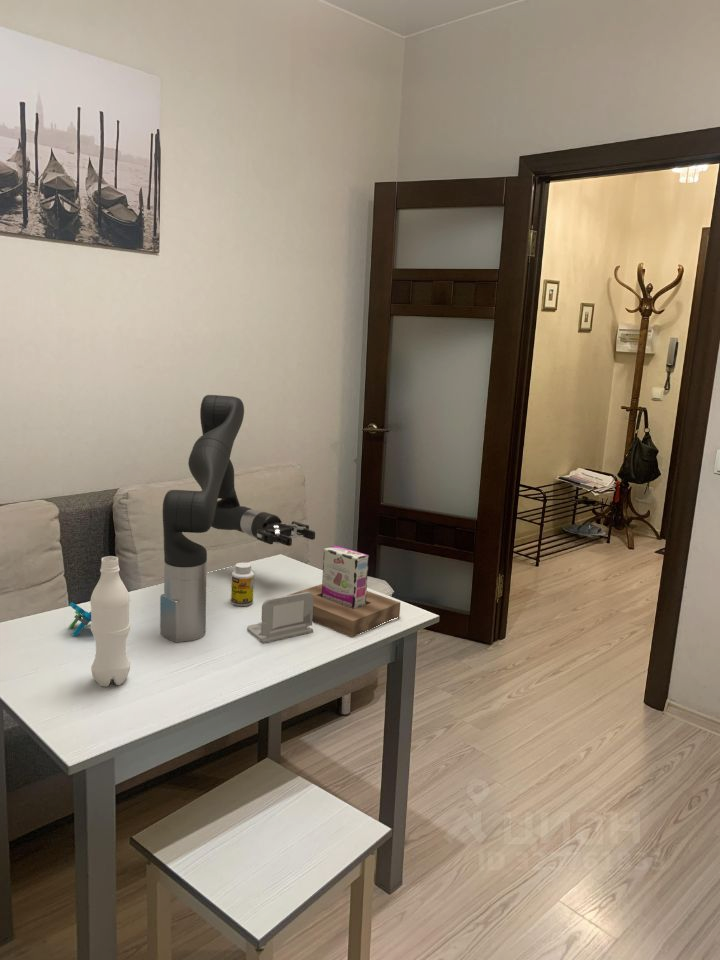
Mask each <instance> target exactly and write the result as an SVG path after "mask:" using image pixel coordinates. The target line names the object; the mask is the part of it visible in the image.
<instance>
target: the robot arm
mask: <svg viewBox="0 0 720 960" xmlns="http://www.w3.org/2000/svg"><path fill="white" fill-rule="evenodd" d="M200 403H201V404H200V410H199V411H200V412H199V413H200V414H199V416H200V417H199V418H200V424H201V425H200V426H201V431H202V433H201V434H202V435H201V436H199V438H198V439H197V440H195V442H194V444H193V446H192V449H191V452H190V454H189V456H188V463H187V465H188V468H189V471H190V474H191V475H192V477H193V479H194V480H195V481H196V483H197V484H198V485H199V487H200V489H201V490H184V489H171V490H168V491H167V492H166V493H165V495H164V498H163V501H162V527H163V529H162V530H163V553H164V554H163V555H164V560H163V561H164V562H163V563H164V568H163V569H164V570H163V571H164V572H163V574H164V577H163V579H164V581H163V582H164V583H163V587H164V588H163V589H164V590H163V591H164V592H163V593H162V594H160V598H159V599H160V601H159V602H160V603H159V604H160V605H159V606H160V607H159V609H160V610H159V614H160V617H159V618H160V619H159V623H160V624H159V625H160V627H159V635H161V636H162V637H164V638H167V639H168V640H170V641H172V642H174V643H179V642H189V641H195V640H198V639H201V638H202V637H204V636H205V635H206V629H207V628H206V626H207V619H206V618H207V569H208V567H207V565H208V553H207V549H206V548H205V547H204V546H203V545H201V544H199V543H197V542H195V541H192V540H191V539H189V538H188V537H186V536H185V535H184V534H183V533H188V534H189V533H191V534H192V533H193V534H200V533H202V534H203V533H206V532H208V531H209V530H210V529H211V528H213V529H217V530H224V531H225V530H226V531H237V532H241V533H242V534H246V535H248V536H250V537H252V538H256V540H258V541H261V542H263V543H266V544H268V545H273V544H274V543H275V544H276V545H278V544H281V545H284V546H288V547H290V546H292V545H293V544H292V543H293V539H296V538H297V537H299V538H301V537H302V538H306V539H308V540H311V541H313V540H315V539H316V532H315V531H314V530H312V529H310V525H309V524H304V523H301V522H298V521H295V520H294V521H291V523H287V522H282V520H281V518H280V517H279V516H278V515H276V514H273V513H269V512H266V511H263V510H260V509H254V508H251V507H247V506H243V505H240V501H239V498H238V495H237V492H236V488H235V469H234V465H233V462H232V461H231V458H230V457H231V455H232V454H231V453H232V450H233V447H234V443H235V440H236V437H237V436H238V433H239V432H240V430H241V429H240V428H241V427H242V423H243V421H244V417H245V405H244V403H243V400H242V399H240V398H239V397H237V396H231V395H217V394H207V395H205V396H203V397H202V400H201V402H200ZM218 499H219V500H218ZM292 532H293V533H292Z"/></svg>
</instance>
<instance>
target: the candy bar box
mask: <svg viewBox="0 0 720 960" xmlns="http://www.w3.org/2000/svg"><path fill="white" fill-rule="evenodd" d="M369 557H370V555H369V554H366V553H362V552H359V551H356V550H351V549H350V548H349V549H348V548H346V547H342V546H338V545H334V546H329V547H326V548H325V547H324V548H323V558H322V559H323V562H322V578H321V579H322V582H321V584H322V597H323V598H325V599H328V600H330V601H333V602H336V603H338V604H341V605H344V606H346V607H349V608H352V609H356V608H359V607H362V606H364V605H366V592H367V591H368V589H367V588H368V572H369V559H370V558H369Z"/></svg>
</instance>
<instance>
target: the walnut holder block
mask: <svg viewBox="0 0 720 960" xmlns="http://www.w3.org/2000/svg"><path fill="white" fill-rule="evenodd" d="M304 592H309V593H311V594H312V595H313V618H312V623H316V624H318V625H320V626H323V627H326V628H329V629H331V630H333V631H336V632H338V633H340V634H342V633H343V635H345V634H346V635H345V636H347V635H348V637H350V638H355V637H356V635H357V636H359V635H361V634H363V633H362V632H364V633H366V632H368V631H367V630H369V631H371V630H373V629H375V628H374V627H376V626H378V625H380V624H382V623H384V622H387V621H389V620H391V619H394V618H397V617H399V618H400V614H401V602H400V601H398V600H395V599H392V598H388V597H386V596H383V595H380V594H377V593H375V592H372V591H369V590H367V592H366V605H364V606H362V607H359V608H356V609H352V608H349V607H346V606H344V605H341V604H338V603H336V602H333V601H330V600H328V599H325V598H323V597H322V583H321V584H318V585H314V586H312V587H309V588H305V589H302V590H300V591H299V590H298V591H295V592H293V593H290V594H287V595H286V596H288V595H293V594H299V593H304ZM397 619H398V618H397ZM378 627H379V626H378ZM372 628H373V629H372ZM376 628H377V627H376ZM370 629H371V630H370ZM365 631H366V632H365ZM360 633H361V634H360ZM358 634H359V635H358Z"/></svg>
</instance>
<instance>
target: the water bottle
mask: <svg viewBox="0 0 720 960" xmlns="http://www.w3.org/2000/svg"><path fill="white" fill-rule="evenodd" d="M99 571H100V577H99V580H98V582H97V584H96V585H95V587H94V588H93V591H92V593H91V597H90V601H89V604H90V612H91V621H90V622H91V623H90V624H91V625H90V631H91V634H92V636H93V638H94V642H95V654H94V660H93V662H92V665H91V670H90V671H91V675H92V677H93V680H94V681H95V682H96V683H97V684H98V685H99V686H101V687H103V688H104V687H105V688H106V687H109V685H110V684H111V681H113V682H114V684H115V685H116V686H120V685H123V683H124V682H125V680H127V677H128V675H129V673H130V671H131V670H130V669H131V662H130V661H129V659H128V656H127V652H126V644H127V643H126V642H127V638H128V635H129V633H130V631H131V630H130V629H131V623H130V602H131V599H130V594H129V591H128V589H127V588H126V586H125V584H124V582H123V580H122V579H121V577H120V566H119V558H118V556H116V555H115V556H114V555H108V556H103V557H101V565H100V569H99Z"/></svg>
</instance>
